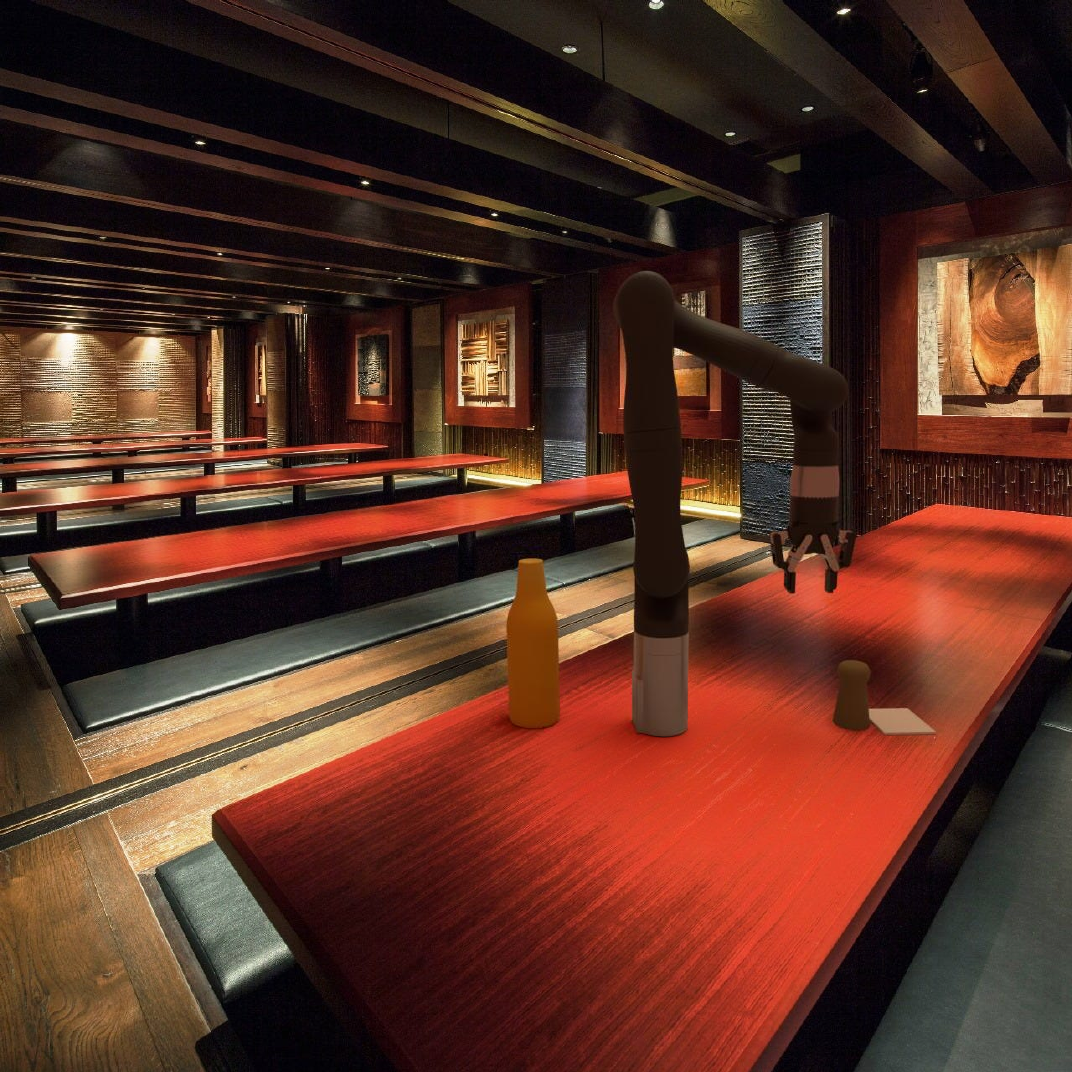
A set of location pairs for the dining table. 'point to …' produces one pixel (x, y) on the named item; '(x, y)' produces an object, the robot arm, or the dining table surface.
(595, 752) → the dining table surface
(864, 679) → the cork
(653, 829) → the dining table surface
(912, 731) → the mat
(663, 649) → the robot arm
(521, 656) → the beer bottle
